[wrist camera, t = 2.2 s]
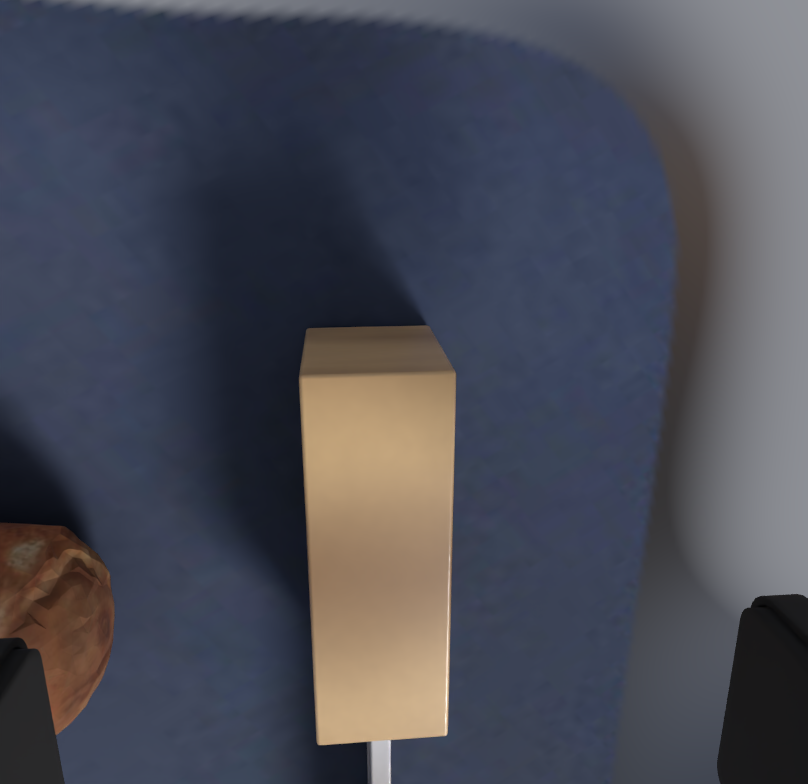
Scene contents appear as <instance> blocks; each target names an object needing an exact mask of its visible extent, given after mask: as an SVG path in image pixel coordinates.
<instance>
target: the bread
mask: <svg viewBox="0 0 808 784" xmlns="http://www.w3.org/2000/svg"><path fill="white" fill-rule="evenodd" d="M114 616H115V615H114V600H113V595H112V590H111V583H110V574H109V571H108V569H107V568H106V566H105V564H104V562H103V561H102V559H101V558H100V556H99V555H98V554H97V553H96V552H95V551H93V550H92V549H91V548H90V547H88V546H87V545H86V544H85V543H84V542H82V541H81V540H79V538H78V537H77V536H76V535H75V534H74V533H73V532H72V531H71V530H69V529H67V528H66V527H64V526H51V525H38V524H21V523H0V638H16V637H19V638H22V639H23V640H24V641H25V643H26V644H27V648H28V649H32V648H35V649H38V651H39V652H40V654H41V658H42V663H43V668H44V674H45V679H46V685H47V690H48V696H49V701H50V707H51V712H52V718H53V723H54V728H55V734H56V735H57V734H59V733H60V732H61V731H62V730H63V729H64V728H66V727H67V726H68V725H69V724H70V723H71V722H72V721H73V720H74V719H75V718H76V716H77V715H78V714H79V713H80V712H81V711H82V710H83V709H84V708H85V706H86V705H87V703H88V701H89V699H90V697H91V695H92V693H93V692H94V690H95V689H96V688H97V686H98V685H99V683H100V681H101V679H102V677H103V675H104V672H105V669H106V666H107V663H108V660H109V658H110V653H111V648H112V643H113V629H114Z"/></svg>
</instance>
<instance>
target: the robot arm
mask: <svg viewBox="0 0 808 784" xmlns="http://www.w3.org/2000/svg"><path fill="white" fill-rule="evenodd" d="M717 769H718V776H719V780H720V783H721V784H808V598H806V597H805V596H803V595H798V594H791V595H773V596H760V597H757V598H755V600H754V601H753V603H752V605H751V608H747V609H744V611H743V612H742V615H741V618H740V624H739V630H738V636H737V643H736V649H735V655H734V661H733V667H732V673H731V680H730V687H729V692H728V698H727V704H726V711H725V717H724V723H723V729H722V735H721V742H720V748H719V754H718V760H717ZM0 784H65V783H64V778H63V772H62V767H61V761H60V756H59V750H58V745H57V739H56V734H55V728H54V723H53V718H52V712H51V707H50V701H49V696H48V690H47V685H46V679H45V674H44V668H43V663H42V658H41V654H40V652H39V651H38V649H35V648H32V649H28V648H27V644H26V643H25V641H24V640H23V639H22V638H19V637H16V638H0Z"/></svg>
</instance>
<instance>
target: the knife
mask: <svg viewBox="0 0 808 784" xmlns="http://www.w3.org/2000/svg"><path fill="white" fill-rule="evenodd" d="M299 392H300V413H301V433H302V454H303V474H304V495H305V515H306V536H307V556H308V576H309V597H310V617H311V638H312V658H313V679H314V699H315V720H316V740H317V743H318V745H330V744H344V743H357V742H367V772H368V784H391V740H397V739H411V738H424V737H437V736H446V735H447V733H448V706H449V663H450V620H451V577H452V534H453V491H454V448H455V405H456V372H455V370H454V368H453V367H452V365H451V363H450V362H449V360H448V358H447V356H446V355H445V353H444V351H443V349H442V348H441V346H440V344H439V342H438V341H437V339H436V337H435V336H434V334H433V332H432V330H431V329H430V327H429V326H381V327H336V328H308V329H307V330H306V334H305V341H304V347H303V354H302V361H301V367H300V374H299Z"/></svg>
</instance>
